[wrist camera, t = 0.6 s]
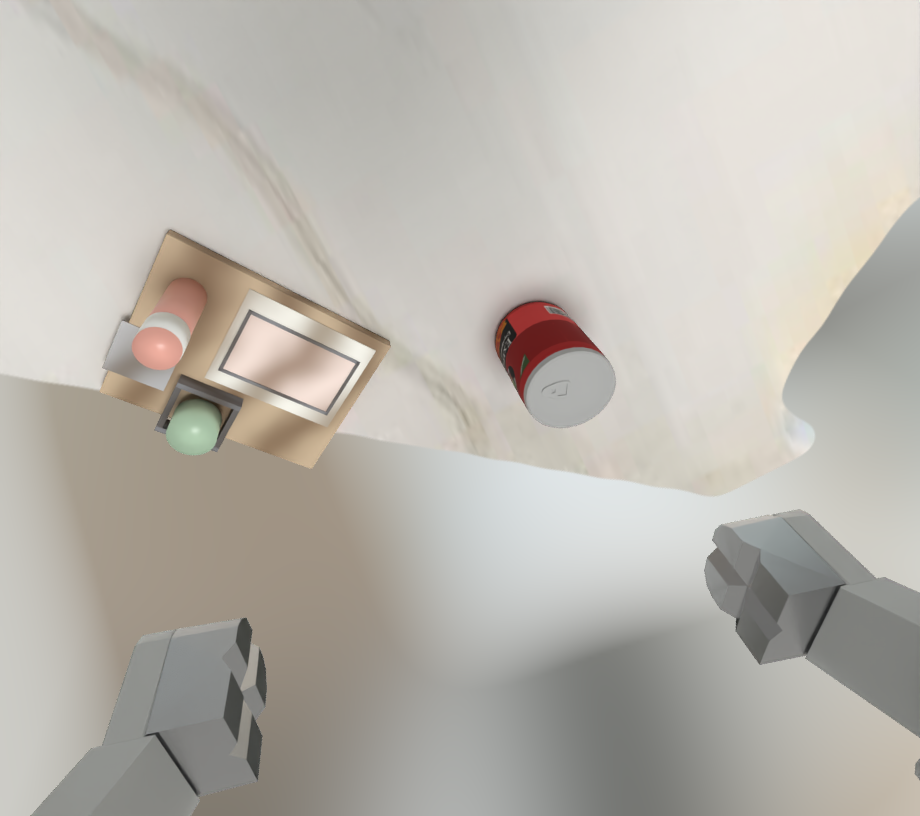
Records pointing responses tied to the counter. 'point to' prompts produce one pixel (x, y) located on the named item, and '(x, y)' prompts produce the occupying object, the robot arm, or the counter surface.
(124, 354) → the picture board
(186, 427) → the button
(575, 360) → the canned food
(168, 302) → the marker
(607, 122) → the counter surface
